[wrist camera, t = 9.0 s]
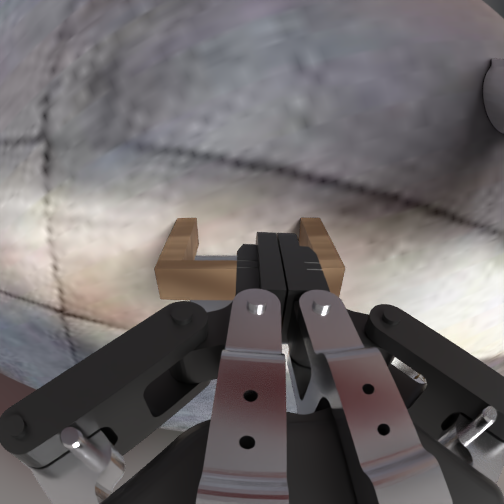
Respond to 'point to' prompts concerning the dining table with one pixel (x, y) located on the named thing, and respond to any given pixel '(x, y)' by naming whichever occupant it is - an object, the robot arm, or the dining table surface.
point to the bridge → (229, 264)
